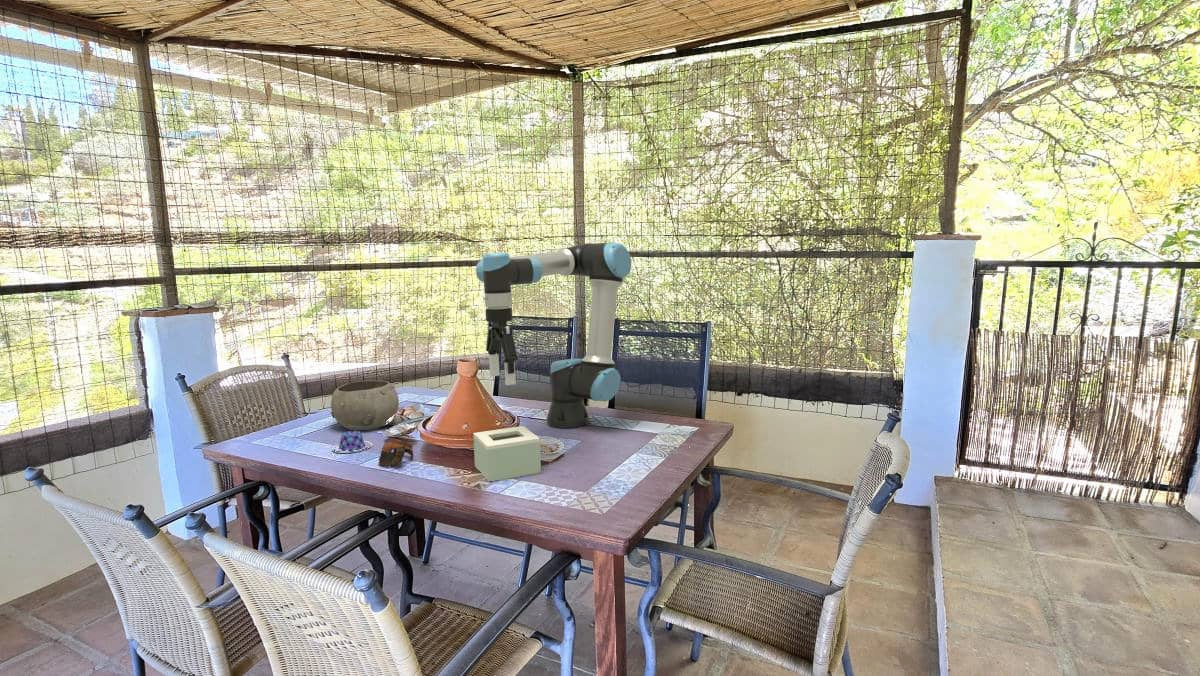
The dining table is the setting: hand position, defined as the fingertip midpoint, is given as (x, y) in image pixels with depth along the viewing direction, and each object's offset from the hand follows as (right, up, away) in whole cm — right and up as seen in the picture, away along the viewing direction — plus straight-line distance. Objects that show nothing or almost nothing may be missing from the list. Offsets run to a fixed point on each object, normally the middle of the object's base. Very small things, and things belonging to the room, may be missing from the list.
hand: (502, 380), depth 178 cm
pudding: (-51, -23, +18) cm, 59 cm away
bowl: (-56, -20, +44) cm, 74 cm away
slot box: (+2, -25, -4) cm, 26 cm away
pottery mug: (-32, -25, +3) cm, 41 cm away
